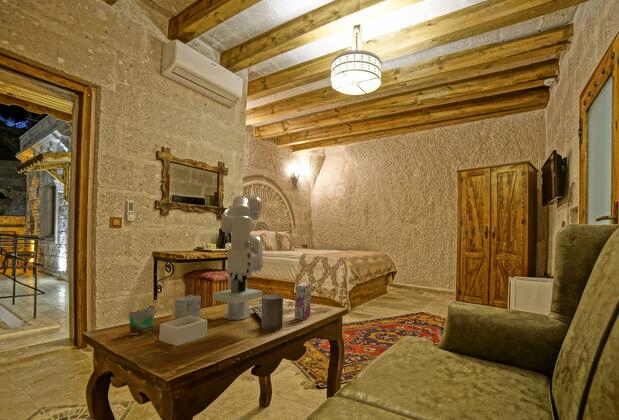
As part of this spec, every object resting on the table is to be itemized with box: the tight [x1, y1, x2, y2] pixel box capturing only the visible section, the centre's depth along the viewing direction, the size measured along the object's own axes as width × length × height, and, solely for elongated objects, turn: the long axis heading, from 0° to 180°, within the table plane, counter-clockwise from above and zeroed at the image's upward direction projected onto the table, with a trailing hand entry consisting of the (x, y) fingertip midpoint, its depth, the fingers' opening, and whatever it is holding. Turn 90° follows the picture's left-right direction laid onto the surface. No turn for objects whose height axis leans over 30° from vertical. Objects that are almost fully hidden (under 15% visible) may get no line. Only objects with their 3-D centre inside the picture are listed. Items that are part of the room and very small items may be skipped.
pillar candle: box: [260, 293, 284, 331], centre depth 142 cm, size 10×10×15 cm
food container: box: [128, 305, 157, 336], centre depth 129 cm, size 12×6×10 cm, turn 168°
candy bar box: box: [294, 282, 312, 321], centre depth 160 cm, size 11×5×16 cm, turn 162°
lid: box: [211, 279, 264, 304], centre depth 130 cm, size 16×12×8 cm
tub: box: [158, 316, 208, 347], centre depth 123 cm, size 14×10×7 cm
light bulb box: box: [173, 294, 202, 320], centre depth 149 cm, size 11×7×11 cm, turn 162°
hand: (238, 290), depth 130 cm, fingers closed on lid, 2 cm apart
